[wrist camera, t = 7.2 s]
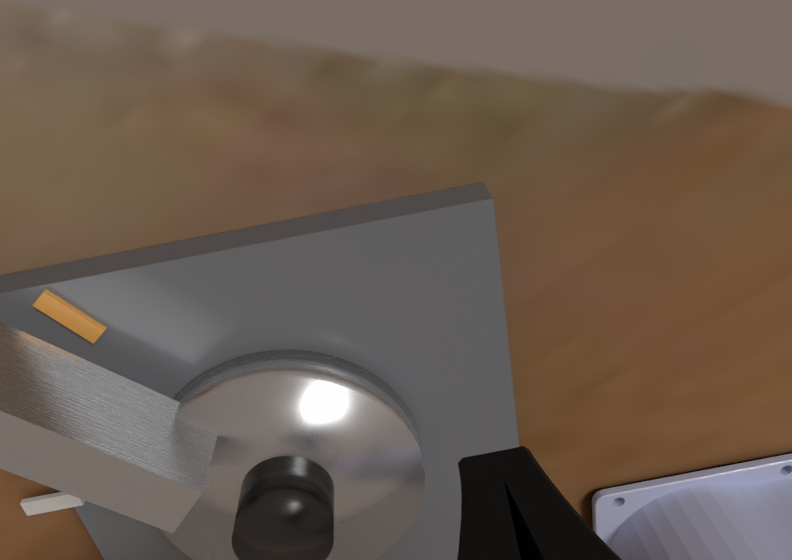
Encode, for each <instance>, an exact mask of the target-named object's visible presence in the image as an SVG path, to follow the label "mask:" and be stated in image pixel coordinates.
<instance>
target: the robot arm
mask: <svg viewBox="0 0 792 560" xmlns="http://www.w3.org/2000/svg"><path fill="white" fill-rule="evenodd" d="M458 468H459V474H460V480H461V499H462V500H461V525H460V537H459V550H458V558H457V560H792V453H791V454H786V455H780V456H775V457H770V458H765V459H759V460H754V461H749V462H744V463H738V464H733V465H728V466H723V467H717V468H712V469H707V470H702V471H696V472H691V473H686V474H681V475H675V476H670V477H665V478H660V479H655V480H649V481H644V482H639V483H634V484H628V485H623V486H618V487H613V488H607V489H602V490H599V491H598V492H596V493H595V494H594V496H593V497H592V521H593V529H592V528H591V527H590V526H589V525H588V524H587V523H586V522H585V521H584V519H583V518H582V517H581V516H580V515H579V514H578V513H577V512H576V510H575V509H574V508H573V507H572V506H571V505H570V504H569V502H568V501H567V500H566V499H565V498H564V496H563V495H562V494H561V493H560V491H559V490H558V489H557V488H556V486H555V485H554V484H553V483H552V481H551V480H550V479H549V477H548V476H547V475H546V474H545V472H544V471H543V469H542V468H541V467H540V465H539V464H538V462H537V461H536V460H535V458H534V457H533V455H532V453H531V452H530V450H529V449H527V448H525V447H524V446H522V447H517V448H511V449H506V450H501V451H496V452H490V453H485V454H480V455H475V456H469V457H464V458H462V459H461V460H460V461H459V462H458ZM616 498H617V499H616Z"/></svg>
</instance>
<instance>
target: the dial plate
mask: <svg viewBox="0 0 792 560" xmlns="http://www.w3.org/2000/svg"><path fill="white" fill-rule="evenodd" d="M0 322H3V323H5V324H7V325H9V326H11V327H14V328H16V329H18V330H20V331H23V332H25V333H27V334H29V335H31V336H34V337H36V338H38V339H40V340H43V341H45V342H47V343H49V344H51V345H54V346H56V347H58V348H60V349H63V350H65V351H67V352H69V353H72V354H74V355H76V356H78V357H80V358H83V359H85V360H87V361H89V362H92V363H94V364H96V365H98V366H100V367H103V368H105V369H107V370H109V371H112V372H114V373H116V374H118V375H120V376H123V377H125V378H127V379H129V380H132V381H134V382H136V383H138V384H140V385H143V386H145V387H147V388H149V389H152V390H154V391H156V392H158V393H160V394H163V395H165V396H167V397H169V398H172V399H174V400H175V398H176V397H177V396H178V394H179V393H180V392H181V391H182V390H183V389H184V388H185V387H186V386H187V385H188V384H189V383H190V382H192V381H193V380H194V379H196V378H197V377H199V376H200V375H201V374H203V373H204V372H206V371H208V370H210V369H211V368H213V367H215V366H217V365H219V364H221V363H224V362H226V361H229V360H231V359H234V358H237V357H240V356H244V355H248V354H252V353H256V352H263V351H271V350H304V351H314V352H319V353H324V354H329V355H332V356H336V357H339V358H342V359H345V360H348V361H350V362H352V363H355V364H357V365H359V366H361V367H363V368H365V369H367V370H368V371H370V372H372V373H373V374H375V375H377V376H378V377H379V378H380V379H382V380H383V381H384V382H385V383H387V384H388V385H389V386H390V387H391V388H392V389H393V390H394V391H395V392H396V393H397V394H398V395H399V396H400V398H401V399H402V400H403V402H404V403H405V405H406V406H407V408H408V409H409V411H410V413H411V415H412V417H413V419H414V422H415V425H416V428H417V432H418V436H419V442H420V448H421V453H422V459H423V465H424V474H425V488H424V495H423V499H422V504H421V506H420V509H419V511H418V514H417V516H416V518H415V519H414V521H413V523H412V524H411V526H410V528H409V529H408V530H407V532H406V533H405V534H404V535H403V537H402V538H401V539H400V540H399V541H398V542H397V543H396V544H395V545H394V546H393V547H392V548H390V549H389V550H388V551H387V552H385V553H384V554H383V555H381V556H380V557H378V558H377V559H375V560H457V558H458V550H459V537H460V525H461V500H462V499H461V480H460V474H459V468H458V462H459V461H460V460H461V459H462V458H464V457H469V456H475V455H480V454H485V453H490V452H496V451H501V450H506V449H511V448H517V447H519V438H518V428H517V419H516V409H515V400H514V390H513V381H512V371H511V362H510V352H509V343H508V333H507V324H506V314H505V305H504V295H503V286H502V276H501V267H500V257H499V248H498V238H497V229H496V219H495V210H494V200H493V197H492V196H491V194H490V193H489V191H488V190H487V188H486V187H485V185H484V184H483V182H482V183H477V184H472V185H467V186H462V187H457V188H451V189H446V190H441V191H436V192H431V193H425V194H420V195H415V196H410V197H405V198H400V199H394V200H389V201H384V202H379V203H374V204H368V205H363V206H358V207H353V208H348V209H343V210H337V211H332V212H327V213H322V214H317V215H311V216H306V217H301V218H296V219H291V220H286V221H280V222H275V223H270V224H265V225H260V226H255V227H249V228H244V229H239V230H234V231H229V232H223V233H218V234H213V235H208V236H203V237H198V238H192V239H187V240H182V241H177V242H172V243H166V244H161V245H156V246H151V247H146V248H141V249H135V250H130V251H125V252H120V253H115V254H109V255H104V256H99V257H94V258H89V259H84V260H78V261H73V262H68V263H63V264H58V265H52V266H47V267H42V268H37V269H32V270H27V271H21V272H16V273H11V274H6V275H1V276H0ZM20 505H21V506H22V508H23V510H24V511H25V513H26V514H27V516H29V515H35V514H40V513H45V512H50V511H55V510H61V509H66V508H71V507H74V508H75V510H76V512H77V514H78V515H79V517H80V519H81V521H82V522H83V524H84V526H85V527H86V529H87V531H88V533H89V534H90V536H91V538H92V540H93V541H94V543H95V545H96V547H97V548H98V550H99V552H100V553H101V555H102V557H103V559H104V560H193V559H192V558H190V557H189V556H187V555H186V554H185V553H183V552H182V551H180V550H179V549H178V548H177V547H176V546H175V545H174V544H173V543H172V542H171V541H170V540H169V539H168V538H167V537H166V536H165V534H164V533H163V532H162V531H161V530H160V528H157V527H155V526H152V525H149V524H147V523H144V522H141V521H139V520H136V519H133V518H131V517H128V516H125V515H123V514H120V513H117V512H115V511H112V510H109V509H107V508H104V507H101V506H99V505H96V504H93V503H91V502H88V501H85V500H83V499H80V498H77V497H75V496H72V495H69V494H67V493H64V492H58V493H53V494H48V495H42V496H37V497H32V498H27V499H22V501H21V503H20Z"/></svg>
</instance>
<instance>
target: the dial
mask: <svg viewBox="0 0 792 560" xmlns="http://www.w3.org/2000/svg"><path fill="white" fill-rule="evenodd" d="M0 469H3V470H5V471H8V472H11V473H13V474H16V475H19V476H21V477H24V478H27V479H29V480H32V481H35V482H37V483H40V484H43V485H45V486H48V487H51V488H53V489H56V490H59V491H61V492H64V493H67V494H69V495H72V496H75V497H77V498H80V499H83V500H85V501H88V502H91V503H93V504H96V505H99V506H101V507H104V508H107V509H109V510H112V511H115V512H117V513H120V514H123V515H125V516H128V517H131V518H133V519H136V520H139V521H141V522H144V523H147V524H149V525H152V526H155V527H157V528H160V530H161V531H162V532H163V533H164V534H165V536H166V537H167V538H168V539H169V540H170V541H171V542H172V543H173V544H174V545H175V546H176V547H177V548H178V549H179V550H180V551H182V552H183V553H185V554H186V555H187V556H189V557H190V558H192V559H193V560H375V559H377V558H378V557H380V556H381V555H383V554H384V553H385V552H387V551H388V550H389V549H390V548H392V547H393V546H394V545H395V544H396V543H397V542H398V541H399V540H400V539H401V538H402V537H403V535H404V534H405V533H406V532H407V530H408V529H409V528H410V526H411V524H412V523H413V521H414V519H415V518H416V516H417V514H418V511H419V509H420V506H421V504H422V499H423V495H424V488H425V474H424V465H423V459H422V453H421V448H420V442H419V436H418V432H417V428H416V425H415V422H414V419H413V417H412V415H411V413H410V411H409V409H408V408H407V406H406V405H405V403H404V402H403V400H402V399H401V398H400V396H399V395H398V394H397V393H396V392H395V391H394V390H393V389H392V388H391V387H390V386H389V385H388V384H387V383H385V382H384V381H383V380H382V379H380V378H379V377H378V376H377V375H375V374H373V373H372V372H370V371H368V370H367V369H365V368H363V367H361V366H359V365H357V364H355V363H352V362H350V361H348V360H345V359H342V358H339V357H336V356H332V355H329V354H324V353H319V352H314V351H304V350H271V351H263V352H256V353H252V354H248V355H244V356H240V357H237V358H234V359H231V360H229V361H226V362H224V363H221V364H219V365H217V366H215V367H213V368H211V369H210V370H208V371H206V372H204V373H203V374H201V375H200V376H199V377H197V378H196V379H194V380H193V381H192V382H190V383H189V384H188V385H187V386H186V387H185V388H184V389H183V390H182V391H181V392H180V393H179V394H178V396H177V397H176V398H175V400H174V399H172V398H169V397H167V396H165V395H163V394H160V393H158V392H156V391H154V390H152V389H149V388H147V387H145V386H143V385H140V384H138V383H136V382H134V381H132V380H129V379H127V378H125V377H123V376H120V375H118V374H116V373H114V372H112V371H109V370H107V369H105V368H103V367H100V366H98V365H96V364H94V363H92V362H89V361H87V360H85V359H83V358H80V357H78V356H76V355H74V354H72V353H69V352H67V351H65V350H63V349H60V348H58V347H56V346H54V345H51V344H49V343H47V342H45V341H43V340H40V339H38V338H36V337H34V336H31V335H29V334H27V333H25V332H23V331H20V330H18V329H16V328H14V327H11V326H9V325H7V324H5V323H3V322H0Z"/></svg>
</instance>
